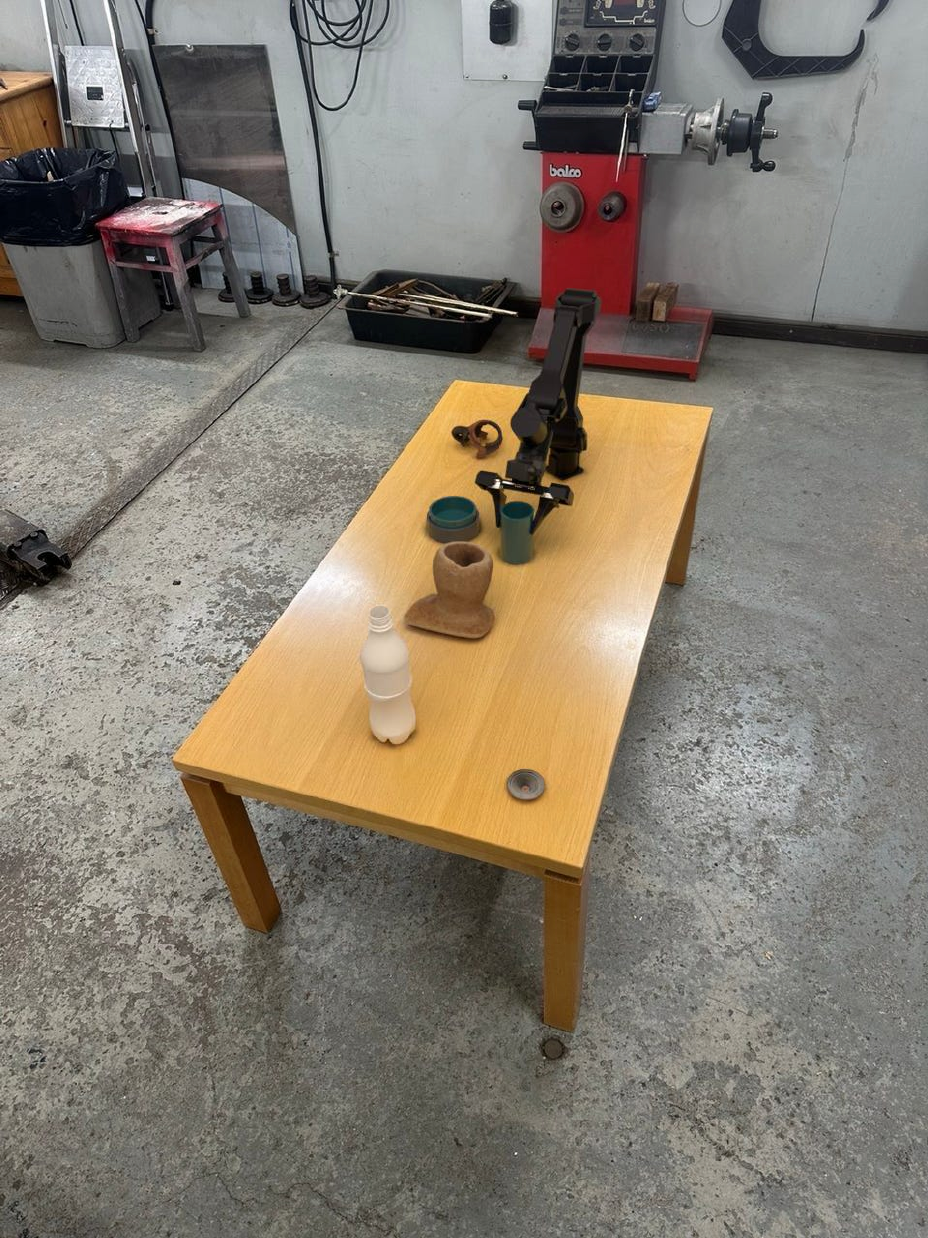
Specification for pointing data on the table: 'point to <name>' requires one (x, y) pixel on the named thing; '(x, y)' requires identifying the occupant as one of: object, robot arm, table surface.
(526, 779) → the dark grey round dish
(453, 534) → the stack base cup
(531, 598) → the table surface
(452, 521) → the stack top cup
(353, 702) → the table surface
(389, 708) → the water bottle
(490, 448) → the brown ring piece
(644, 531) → the table surface
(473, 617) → the stone cup
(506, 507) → the teal cup
